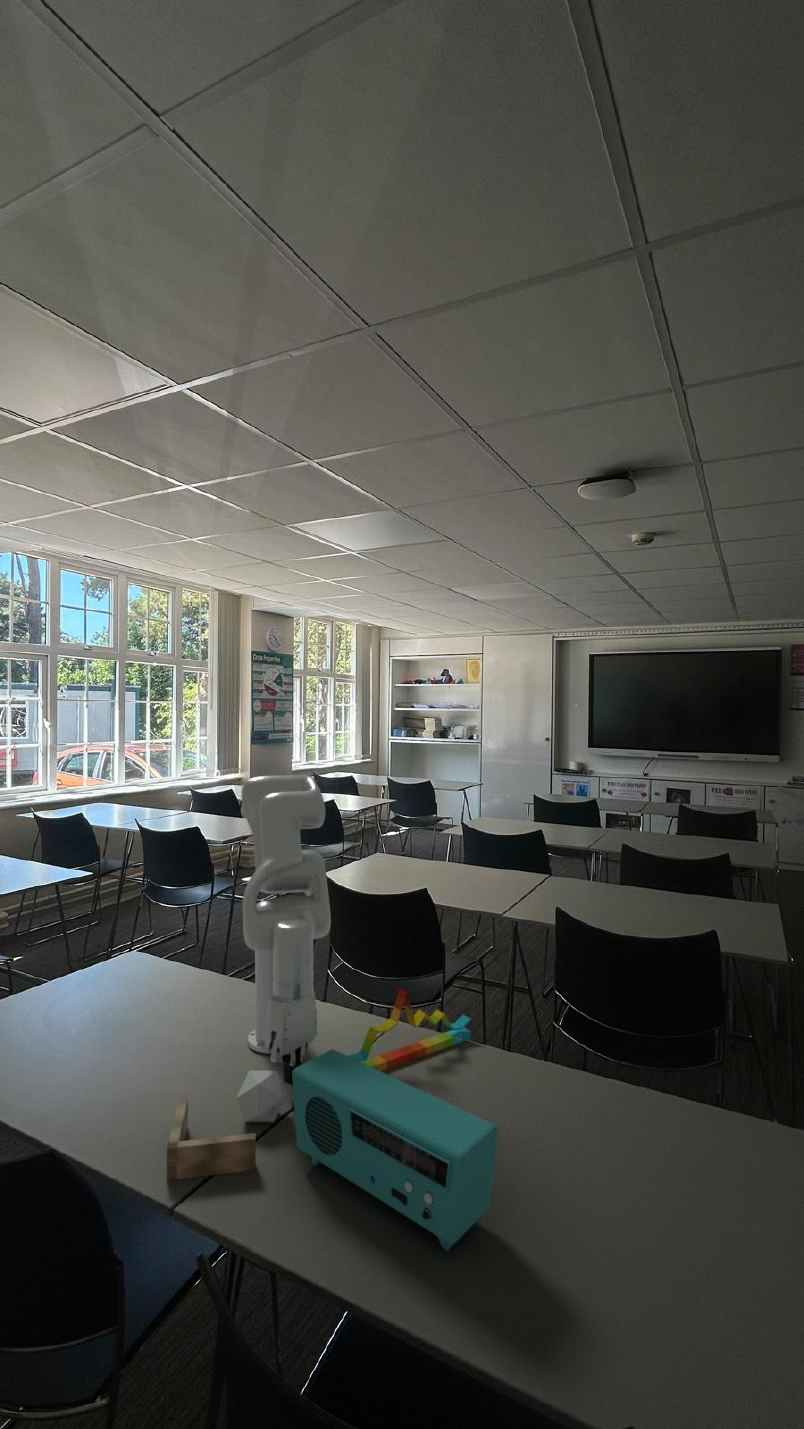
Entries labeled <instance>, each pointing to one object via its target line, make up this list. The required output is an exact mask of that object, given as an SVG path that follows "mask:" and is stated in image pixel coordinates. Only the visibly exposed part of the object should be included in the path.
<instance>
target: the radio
mask: <svg viewBox="0 0 804 1429" xmlns="http://www.w3.org/2000/svg"><path fill="white" fill-rule="evenodd" d="M292 1079H293V1086H292V1092H293V1106H294V1107H293V1108H294V1109H293V1110H294V1122H295V1123H294V1124H295V1138H296V1147H297V1148H298V1149H299V1150H301V1151H302V1152H304V1153H305V1154H307V1155H309V1156H310V1157H311V1164H312V1165H313V1166H315V1167H316V1166H318V1165H320V1164H323V1165H325V1167H327V1168H329V1169H331V1170H332V1171H334V1172H335V1173H337V1174H339V1175H340V1176H342V1177H343V1178H345V1179H346V1180H348V1181H350V1182H351V1183H353V1184H354V1185H356V1186H358V1187H359V1188H361V1189H362V1190H364V1191H366V1192H367V1193H368V1194H370V1195H371V1196H373V1197H375V1198H377V1199H378V1200H380V1201H381V1202H383V1203H384V1204H386V1205H387V1206H389V1207H390V1208H393V1209H394V1210H395V1211H397V1212H399V1213H400V1214H402V1215H403V1216H404V1217H406V1218H408V1219H409V1220H411V1221H413V1222H415V1223H416V1224H418V1225H419V1226H421V1227H422V1228H424V1229H426V1230H427V1231H428V1232H430V1233H432V1234H433V1235H435V1236H436V1237H437V1239H438V1241H439V1243H440V1245H441V1247H442V1249H444V1250H445V1251H447V1252H448V1251H449V1250H450V1249H451V1248H452V1246H453V1245H454V1244H455V1243H457V1242H458V1241H459V1240H460V1239H461V1238H462V1237H463V1235H465V1233H467V1232H468V1230H470V1228H472V1226H473V1225H475V1223H476V1222H477V1221H478V1220H479V1219H480V1218H481V1217H482V1216H483V1215H484V1214H485V1213H486V1212H487V1211H488V1210H489V1208H490V1206H491V1201H492V1200H491V1199H492V1191H493V1183H494V1182H493V1181H494V1173H495V1164H496V1163H495V1162H496V1154H497V1143H498V1133H499V1130H498V1129H499V1128H498V1127H497V1125H495V1124H494V1123H491V1122H489V1121H487V1120H485V1119H483V1118H481V1117H478V1116H477V1115H474V1114H472V1113H470V1112H468V1111H466V1110H463V1109H461V1108H460V1107H457V1106H455V1105H453V1104H451V1103H448V1102H446V1101H445V1100H443V1099H440V1098H438V1097H436V1096H434V1095H431V1094H429V1093H428V1092H425V1091H423V1090H421V1089H418V1088H416V1087H414V1086H413V1085H410V1084H408V1083H406V1082H403V1081H401V1080H399V1079H397V1078H395V1077H393V1076H391V1075H389V1074H387V1073H385V1072H383V1071H381V1072H380V1071H378V1070H376V1069H374V1068H372V1067H370V1066H367V1065H365V1064H363V1063H361V1062H359V1061H357V1060H355V1059H353V1058H350V1057H349V1055H346V1054H344V1053H342V1052H340V1051H337V1050H335V1049H329V1050H328V1051H325V1052H323V1053H321V1054H320V1055H317V1056H315V1057H314V1058H312V1059H310V1060H308V1061H306V1062H304V1063H302V1065H301V1066H299V1067H297V1068H295V1069H294V1070H293V1073H292Z"/></svg>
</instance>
